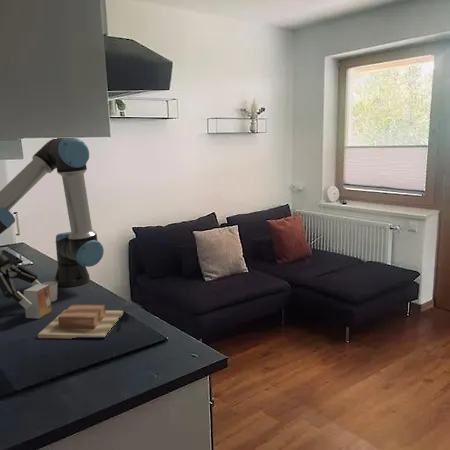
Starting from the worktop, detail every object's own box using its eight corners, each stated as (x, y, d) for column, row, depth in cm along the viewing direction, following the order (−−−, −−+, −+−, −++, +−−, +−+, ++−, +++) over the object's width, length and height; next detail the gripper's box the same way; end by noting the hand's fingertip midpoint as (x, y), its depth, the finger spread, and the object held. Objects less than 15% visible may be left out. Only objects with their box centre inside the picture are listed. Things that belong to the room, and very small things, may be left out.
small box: (39, 319, 162) (36, 291, 160) (25, 318, 163) (22, 290, 161) (52, 311, 170) (49, 284, 168) (38, 310, 171) (36, 283, 169)
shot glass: (36, 301, 180) (35, 285, 179) (48, 296, 187) (47, 280, 185) (51, 303, 178) (50, 286, 177) (62, 297, 185) (61, 281, 183)
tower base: (65, 312, 168) (64, 299, 167) (123, 313, 167) (122, 300, 166) (37, 337, 146) (36, 322, 145) (104, 339, 145) (103, 323, 144)
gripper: (6, 258, 176) (46, 295, 178) (-34, 276, 151) (13, 319, 153) (18, 245, 175) (58, 282, 177) (-20, 261, 150) (27, 305, 152)
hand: (38, 300), depth 165 cm, fingers open, 13 cm apart
